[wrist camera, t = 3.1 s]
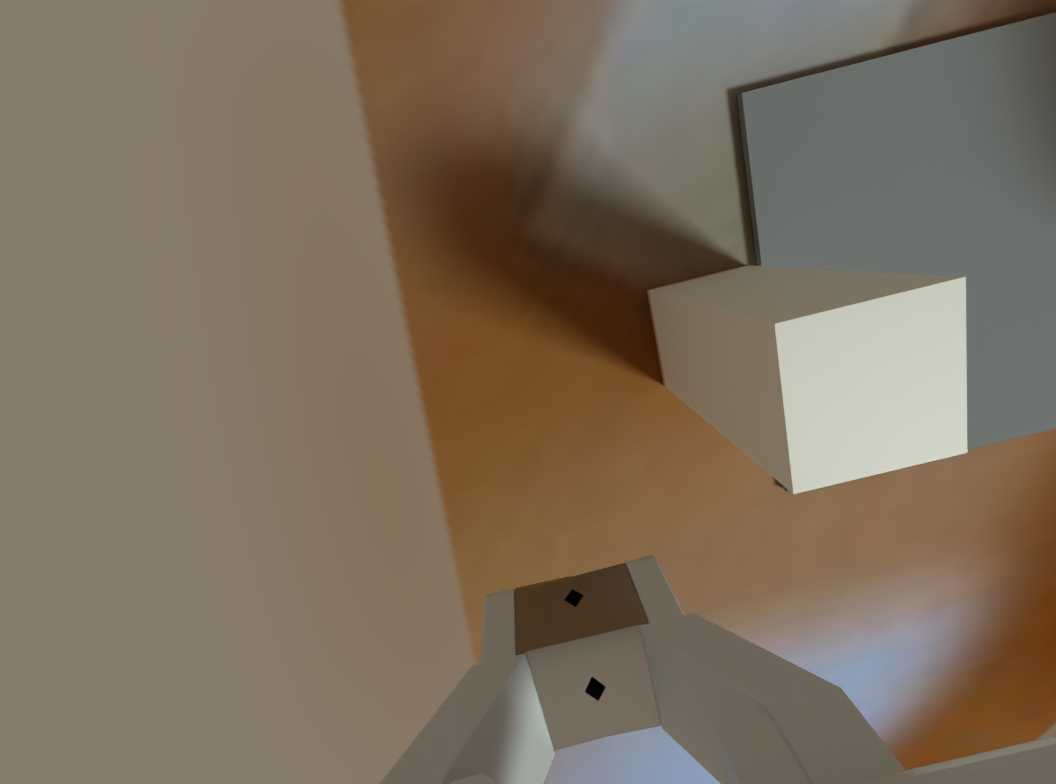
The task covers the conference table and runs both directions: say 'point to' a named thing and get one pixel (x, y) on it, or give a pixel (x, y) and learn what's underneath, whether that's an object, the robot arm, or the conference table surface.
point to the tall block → (820, 367)
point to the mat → (929, 195)
